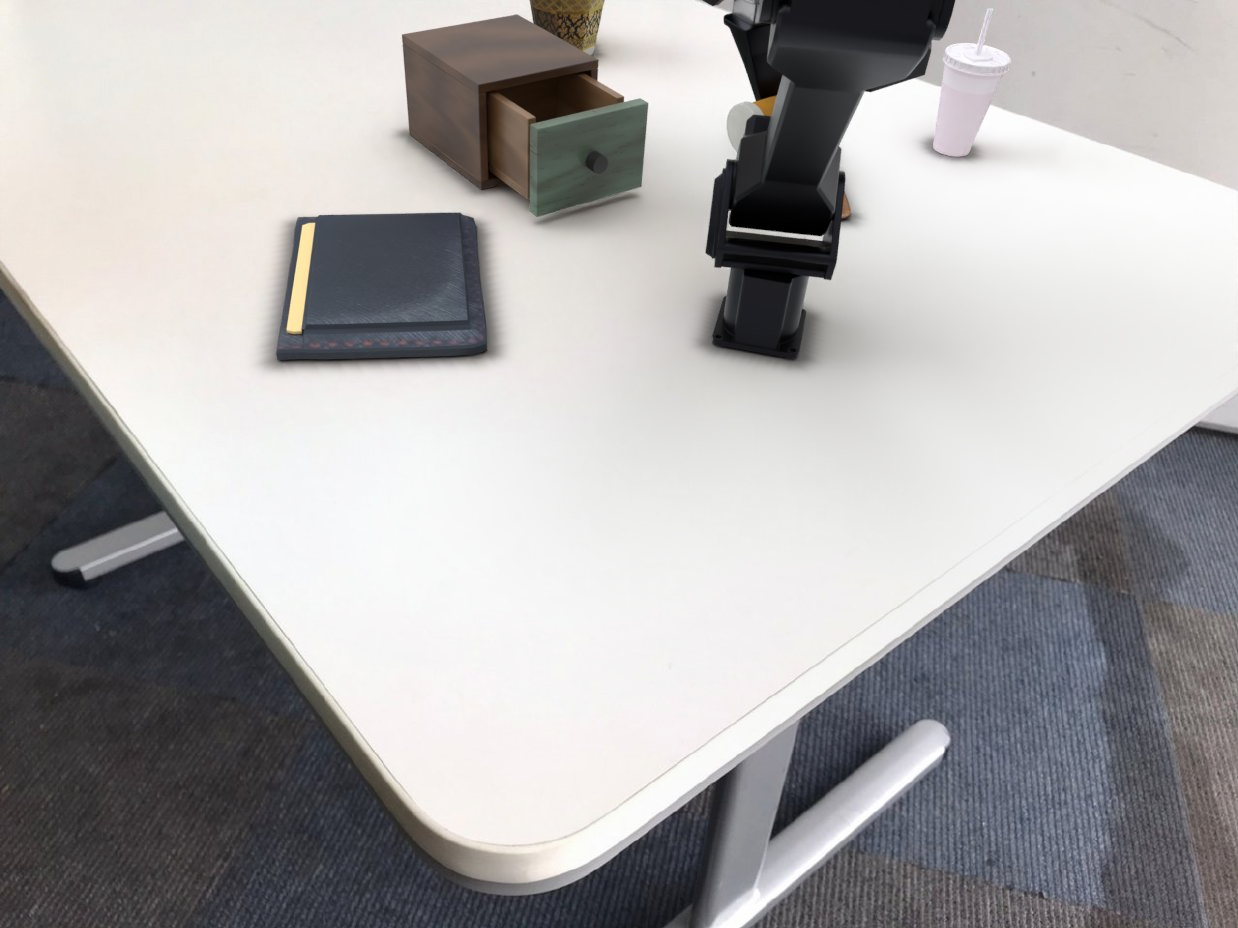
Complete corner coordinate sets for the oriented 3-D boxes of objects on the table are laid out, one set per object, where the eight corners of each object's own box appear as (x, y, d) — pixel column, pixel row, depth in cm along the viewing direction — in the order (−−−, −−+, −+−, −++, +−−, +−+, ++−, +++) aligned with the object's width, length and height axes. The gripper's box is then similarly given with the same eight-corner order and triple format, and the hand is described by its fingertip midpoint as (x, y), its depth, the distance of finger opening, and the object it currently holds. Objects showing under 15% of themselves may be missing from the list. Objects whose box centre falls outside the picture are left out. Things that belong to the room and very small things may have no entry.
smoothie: (912, 152, 104) (950, 9, 95) (928, 130, 109) (966, -8, 99) (974, 168, 102) (1019, 24, 93) (988, 145, 107) (1032, 6, 97)
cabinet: (594, 160, 98) (598, 59, 92) (481, 190, 92) (478, 84, 86) (517, 110, 106) (517, 14, 100) (409, 134, 100) (401, 34, 94)
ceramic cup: (623, 49, 121) (628, -41, 115) (576, 73, 115) (579, -21, 108) (534, 24, 126) (534, -64, 119) (484, 45, 119) (482, -47, 113)
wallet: (487, 335, 72) (263, 339, 70) (487, 357, 73) (267, 362, 71) (480, 201, 86) (295, 202, 84) (481, 222, 88) (299, 222, 86)
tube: (798, 117, 80) (810, 71, 77) (831, 141, 78) (844, 95, 75) (722, 141, 77) (731, 94, 74) (754, 166, 75) (764, 120, 72)
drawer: (650, 192, 92) (657, 107, 87) (544, 223, 86) (546, 135, 81) (563, 136, 100) (566, 55, 95) (462, 161, 94) (458, 77, 89)
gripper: (1020, -72, 64) (949, 155, 75) (817, -154, 74) (782, 57, 85) (896, -42, 59) (840, 196, 70) (698, -134, 69) (677, 86, 81)
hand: (784, 127), depth 77 cm, fingers closed on tube, 3 cm apart
